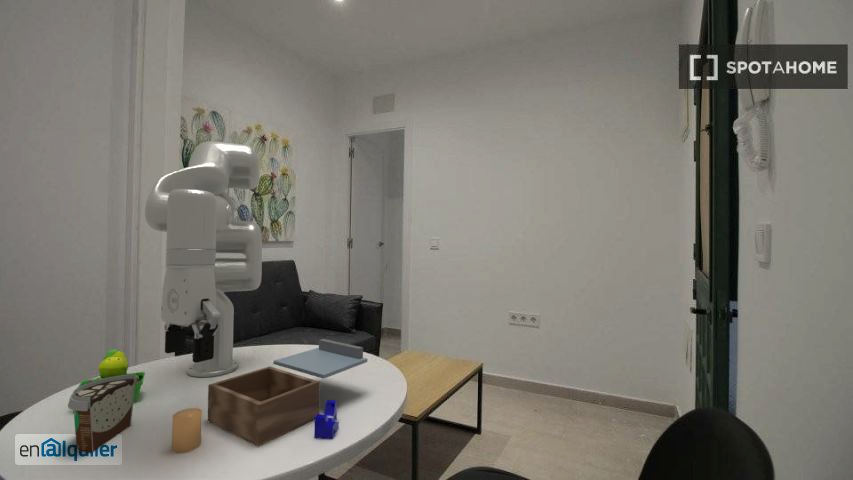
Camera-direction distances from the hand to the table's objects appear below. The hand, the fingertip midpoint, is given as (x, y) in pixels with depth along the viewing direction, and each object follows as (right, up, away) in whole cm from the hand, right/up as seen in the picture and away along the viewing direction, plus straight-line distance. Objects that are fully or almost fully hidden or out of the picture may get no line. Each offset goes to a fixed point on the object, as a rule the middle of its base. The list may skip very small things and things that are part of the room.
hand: (188, 355), depth 66 cm
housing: (+9, -17, +11) cm, 22 cm away
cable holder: (+23, -17, +8) cm, 30 cm away
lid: (+17, -9, +24) cm, 30 cm away
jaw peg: (0, -16, 0) cm, 16 cm away
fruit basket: (-28, -16, +18) cm, 37 cm away
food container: (-18, -16, +2) cm, 24 cm away
